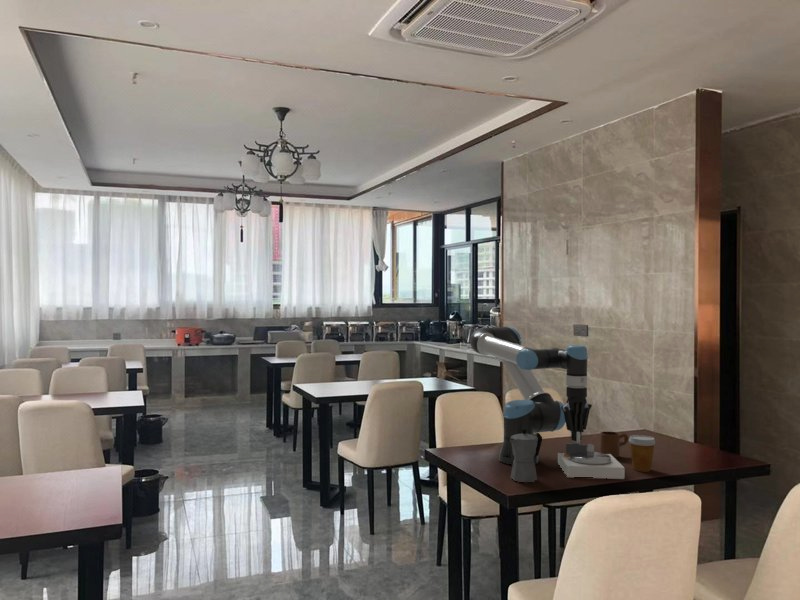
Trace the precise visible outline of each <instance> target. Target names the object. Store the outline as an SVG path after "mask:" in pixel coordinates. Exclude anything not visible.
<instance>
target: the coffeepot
mask: <svg viewBox="0 0 800 600" xmlns="http://www.w3.org/2000/svg"><path fill="white" fill-rule="evenodd" d="M526 430H527V429H525V428H524V429H522V434H516V435H513V436H511V439H510V441H511V444H512V451H513V455H514V461H513V465H511V472H510V477H509V479H511V478H512V479H513V480H515V481H520V482H533V483H535V482H536V481H537V480H538V475H537V470H536V464H535V462H534V459H533V457H536V456H538V457H539V454H540V450H541V446H542V442H543V437H542V435H541V433H540V432H539V433H534V434H531V435H529V434H526ZM535 452H536V453H535ZM512 479H511V480H512ZM513 480H512V481H513ZM535 480H536V481H535ZM515 481H514V482H515ZM534 481H535V482H534Z"/></svg>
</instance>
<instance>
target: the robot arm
mask: <svg viewBox="0 0 800 600" xmlns="http://www.w3.org/2000/svg"><path fill="white" fill-rule="evenodd" d="M469 343H470V347H471V348H472V350H473V351H474V352H475V353H477V354H480V355H483V356H492V357H495V358H496V359H497V361H498V362H501V363H502V364H503V365H504V367H505V369H506V370H507V372H508V373H509V375H510V377H511V379H512V380H513V382H514V384H515V385H516V387H517V389H518V391H519V392H520V394H521V396H522V397H523V398H522V399H516V400H515V399H514V400H511V401H508V402H506V403H505V405H504V406H503V407H504V408H503V441H502V445H501V447H500V451H499V453H498V461H499V462H500V461H501V462H500V463H502V462H503V463H502V464H505V463H506V464H505V465H509V464H511V465H510V466H513V461H514V455H513V451H512V444H511V441H510V439H511V436H513V435H516V434H522V429H524V428H525V429H527V430H526V434H529V435H531V434H536V433H539V434H540V433H548V432H555V431H559V430H560V431H561V429H562V428H564V426H565V427H566V430H567V431H569V432H571V433H570V434H571V438H570V439H571V441H572V443H575V444H581V440H582V435H583V434H582V433H583V432H584V431H586V429H587V427H588V426H587V425H588V421H589V415H590V410H591V409H592V407H593V405H592V404H591V403H588V402H587V398H588V388H587V386H588V348H587V346H585V345H581V344H580V345H579V344H578V345H577V344H571V345H570V344H569V345H567V346H566V349H564V348H559V347H550V348H545V349H544V348H543V349H542V348H538V349H536V348H535V349H534V348H530V347H527V346H524V345H522V336H521V334H520V332H519V331H518V330H517V329H515V328H514V327H510V326H509V327H508V326H500V327H491V326H490V327H486V326H485V327H480V328H477V329H475V330H474V331H473V333H472V334H471V336H470V339H469ZM543 369H544V370H546V369H561V370H562V369H565V370H566V383H565V384H566V387H565V388H566V389H565V391H566V394H565V395H566V397H567V399H566V403H565V404H564V403H563V402H561V401H559V400H554V398H553V397H552V395H551V393H549V392H545V391H544V389H543V388H542V386H541V384H540V383H539V381H538V379H537V377H536V376H535V375H534V373H533V371H532V370H543ZM535 453H536V452H535ZM533 459H534V462H535V465H536V464H538V463H539V455H538V456H536V457H533Z"/></svg>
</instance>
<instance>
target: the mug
mask: <svg viewBox="0 0 800 600" xmlns="http://www.w3.org/2000/svg"><path fill="white" fill-rule="evenodd" d="M622 438H623V440H622V441H621V439H622ZM628 442H629V436H628V435H627V433H625V432H624V433H623V432H622V433H618V432H616V431H601V432H600V436H599V453H604V454H611V455H612V456H613V457H614V458H615V459H617V458H619V457H620V451H621V450H620V448H621V447H623V446H625V445H627V443H628Z"/></svg>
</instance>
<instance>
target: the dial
mask: <svg viewBox="0 0 800 600" xmlns="http://www.w3.org/2000/svg"><path fill="white" fill-rule="evenodd" d="M565 445H566V446H565V453H566V454H567V455H569V459H570V460H571V461H573V462H577V463H581V464H588V465H604V464H609V463H610V462H611V457H610V456H609V455H607V454H604V453H600V451H599V452H597V451H595V445H594V444H592V443H588V444H586V443H585V444H583V443H580V444H575V443H573V442H572V443H570V442H566V443H565Z"/></svg>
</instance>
